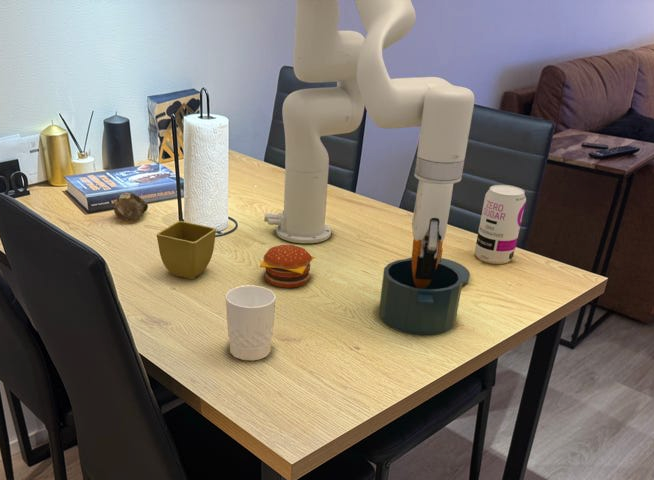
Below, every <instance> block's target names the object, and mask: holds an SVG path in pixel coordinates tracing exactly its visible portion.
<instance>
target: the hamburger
mask: <svg viewBox="0 0 654 480" xmlns="http://www.w3.org/2000/svg"><path fill="white" fill-rule="evenodd" d="M314 259H316V256H313V255H311V254H310V253H309V252H308V251H307V249H306V248H304V247H302V246H300V245H299V246H298V245H295V244H279V245H275V246H273V247H270V248H269V249H268V250H267V251H266V252H265V253H264V255H263V259H262V261H261V263H260V265H259V268H264V269H265V272H264V275H263V276H264V279H265V280H266V282H267V283H268V284H270V285H271V286H273V287H278V288H284V289H285V288H286V289H291V288H299V287H302V286H305V285H307V283H309V282H310V278H311V276H310V275H311V274H310V271H311V262H312V261H313V260H314Z"/></svg>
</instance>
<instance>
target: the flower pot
mask: <svg viewBox="0 0 654 480" xmlns="http://www.w3.org/2000/svg"><path fill="white" fill-rule="evenodd" d="M216 233H217V228H215V227H211V226H207V225H203V224H198V223H193V222H188V221H182V220H178V221H176V222H174V223H172V224H171V225H169V226H168V227H166V228H164V229H162V230H160V231H159V232H157V233H156V239H157V245H158V250H159V255H160V259H161V261H162V264H163V265H164V267H165V269H166V270H167V271H168V273H170V275H173V276H176V277H180V278H185V279H189V280H194V279H195V278H197V277H198V276H199V275H201V274H202V273H203V272H205V270H206V269H207V267H208V266H209V264H210V262H211V259H212V257H213V255H214V254H213V253H214V249H215V241H216Z"/></svg>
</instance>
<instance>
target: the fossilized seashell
mask: <svg viewBox="0 0 654 480" xmlns="http://www.w3.org/2000/svg"><path fill="white" fill-rule="evenodd" d="M148 208H149V204H147V202H146V201H145V200H144V199H143V198H142V197H140V195H137V194H135V193H132V192H123V193H121V194H119V195H118V197H117V199H116V200H115V201H114V203H113V211H114V214H115V216H116V217H117V218H119V219H121V220H122V221H125V222H136V221H138V220H140V219H141V218H142V216H143V214H144V213H146V212H147V211H148Z"/></svg>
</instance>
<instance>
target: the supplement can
mask: <svg viewBox="0 0 654 480" xmlns="http://www.w3.org/2000/svg"><path fill="white" fill-rule="evenodd" d="M525 193H526V191H525V190H524V189H522V188H520V187H518V186H514V185H509V184H494V185H492V186H490V187H489V189H488V190H487V192H486V193H485V194H484V195H485V196H484V200H483V205H482V211H481V216H480V221H479V226H478V232H477V236H476V242H475V247H474V252H473V253H474V255H475V256H476V258H477V259H478V260H480V261H482V262H483V263H484V262H485V263H487V264H492V265H505V264H507V263H509V262H511V260H513V259H514V256H515V252H516V248H517V242H518V239H519V233H520V229H521V225H522V220H523V216H524V211H525V207H526V203H527V197H526V194H525Z"/></svg>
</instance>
